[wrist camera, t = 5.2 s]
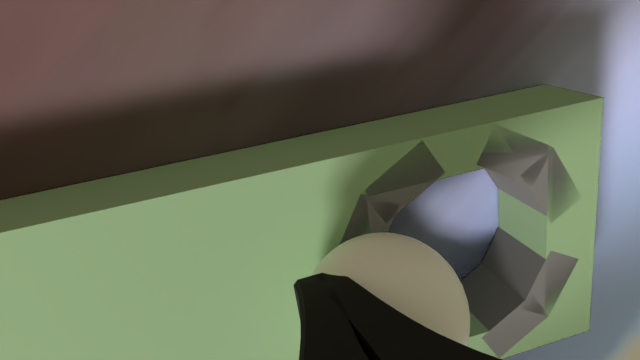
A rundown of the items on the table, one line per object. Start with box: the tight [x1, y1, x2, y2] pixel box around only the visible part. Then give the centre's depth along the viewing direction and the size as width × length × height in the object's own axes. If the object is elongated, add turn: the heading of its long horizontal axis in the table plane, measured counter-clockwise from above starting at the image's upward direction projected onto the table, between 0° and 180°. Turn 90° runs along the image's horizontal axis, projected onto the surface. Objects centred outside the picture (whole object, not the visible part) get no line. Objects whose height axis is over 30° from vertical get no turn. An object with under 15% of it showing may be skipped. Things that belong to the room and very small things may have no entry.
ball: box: [311, 232, 470, 346], centre depth 12 cm, size 4×4×4 cm
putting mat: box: [0, 85, 603, 360], centre depth 15 cm, size 8×20×2 cm, turn 98°
